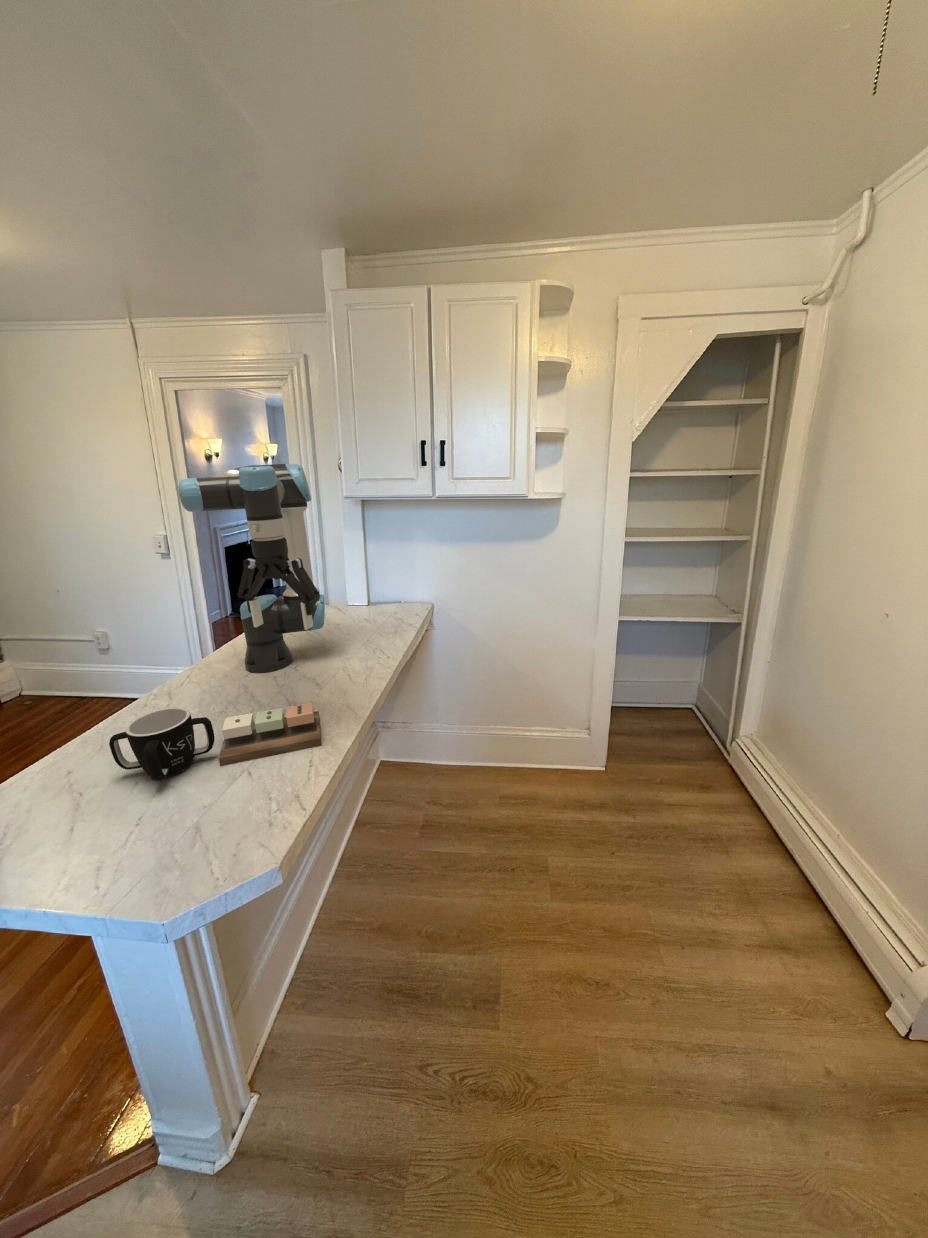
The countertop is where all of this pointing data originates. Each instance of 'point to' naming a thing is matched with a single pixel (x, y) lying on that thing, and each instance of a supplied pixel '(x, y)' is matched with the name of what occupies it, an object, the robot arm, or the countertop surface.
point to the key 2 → (269, 720)
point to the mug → (162, 742)
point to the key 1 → (238, 726)
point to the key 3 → (300, 714)
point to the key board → (271, 742)
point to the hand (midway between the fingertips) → (283, 626)
